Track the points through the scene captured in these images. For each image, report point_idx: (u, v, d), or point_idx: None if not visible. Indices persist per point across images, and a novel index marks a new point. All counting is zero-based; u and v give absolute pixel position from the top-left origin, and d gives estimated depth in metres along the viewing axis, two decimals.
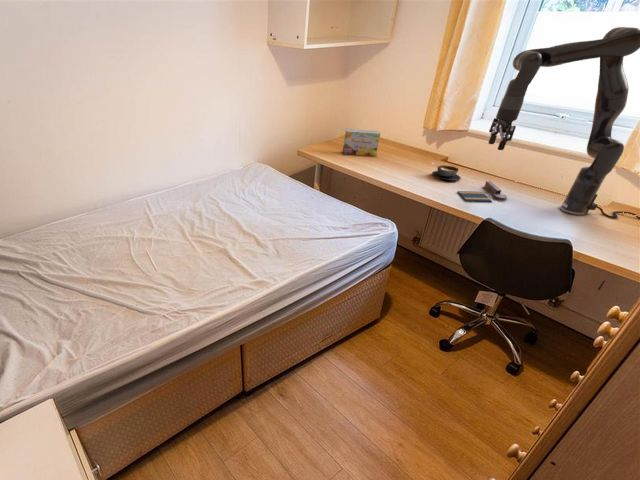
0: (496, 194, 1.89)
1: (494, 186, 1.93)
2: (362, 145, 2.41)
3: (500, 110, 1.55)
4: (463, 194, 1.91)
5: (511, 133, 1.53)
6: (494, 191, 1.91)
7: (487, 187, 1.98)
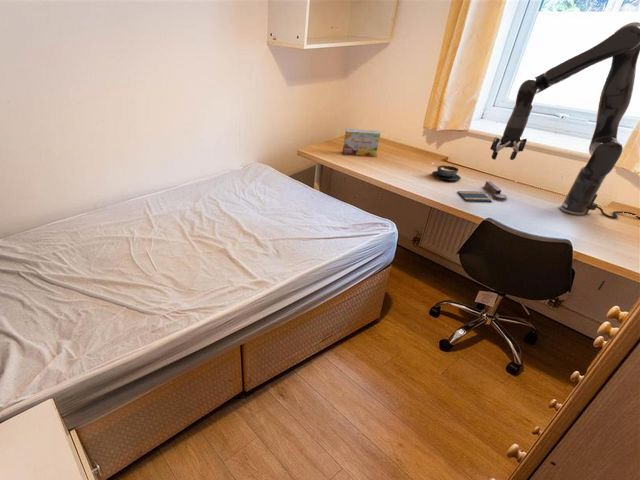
0: (496, 194, 1.89)
1: (494, 186, 1.93)
2: (362, 145, 2.41)
3: None
4: (463, 194, 1.91)
5: (494, 144, 1.83)
6: (494, 191, 1.91)
7: (487, 187, 1.98)
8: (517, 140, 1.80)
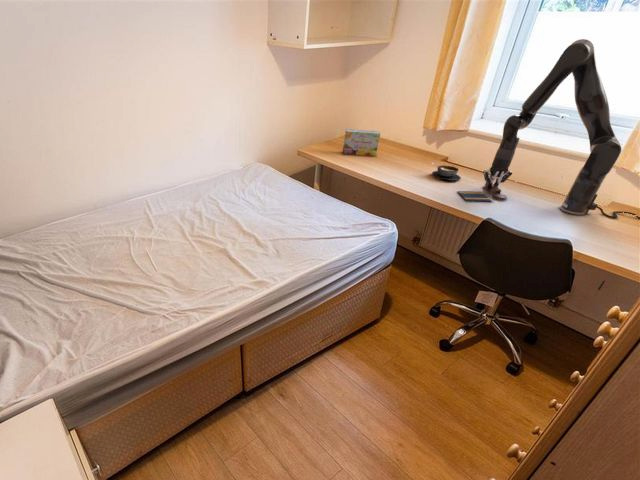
0: (496, 194, 1.89)
1: (494, 186, 1.93)
2: (362, 145, 2.41)
3: None
4: (463, 194, 1.91)
5: (485, 177, 1.93)
6: (494, 191, 1.91)
7: None
8: (505, 170, 1.89)
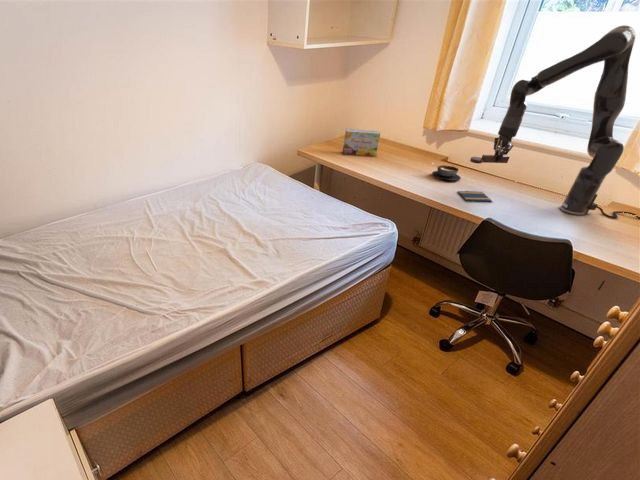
0: (478, 157, 1.90)
1: (493, 155, 1.88)
2: (362, 145, 2.41)
3: None
4: (463, 194, 1.91)
5: None
6: None
7: None
8: (505, 140, 1.81)
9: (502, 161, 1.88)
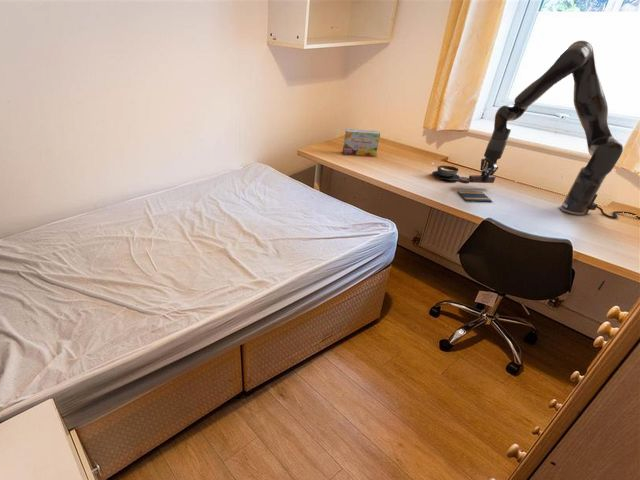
0: (465, 177, 1.99)
1: (480, 176, 1.96)
2: (362, 145, 2.41)
3: None
4: (463, 194, 1.91)
5: None
6: None
7: None
8: (490, 162, 1.89)
9: (488, 181, 1.96)
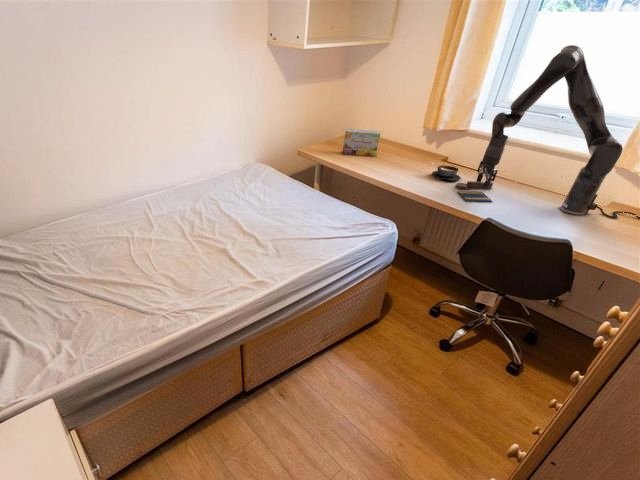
0: (463, 183, 2.01)
1: (478, 182, 1.98)
2: (362, 145, 2.41)
3: None
4: (463, 194, 1.91)
5: None
6: None
7: None
8: (488, 168, 1.91)
9: None
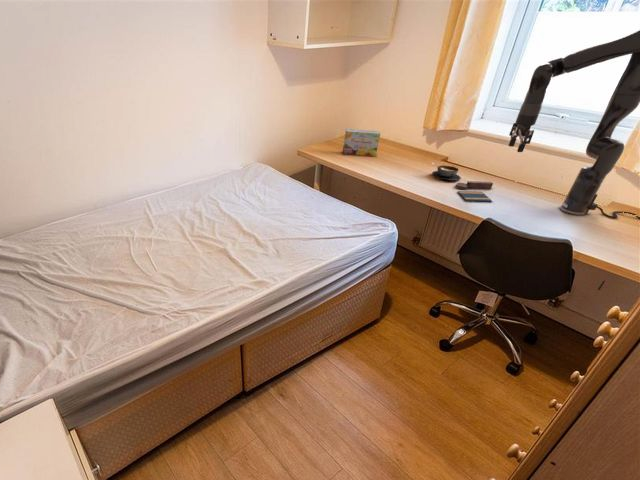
0: (463, 183, 2.01)
1: (478, 182, 1.98)
2: (362, 145, 2.41)
3: None
4: (463, 194, 1.91)
5: None
6: None
7: None
8: (523, 129, 1.71)
9: (486, 187, 1.98)
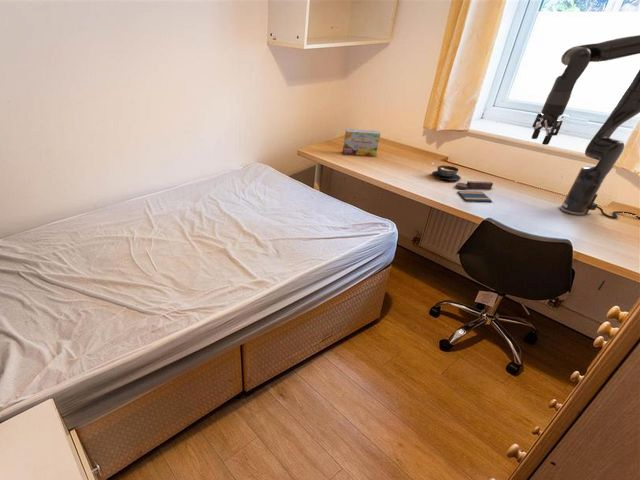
0: (463, 183, 2.01)
1: (478, 182, 1.98)
2: (362, 145, 2.41)
3: None
4: (463, 194, 1.91)
5: None
6: None
7: None
8: (550, 120, 1.59)
9: (486, 187, 1.98)
